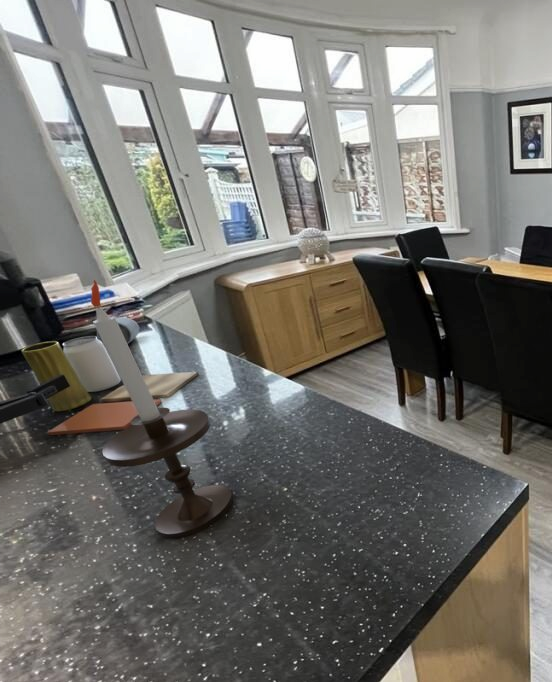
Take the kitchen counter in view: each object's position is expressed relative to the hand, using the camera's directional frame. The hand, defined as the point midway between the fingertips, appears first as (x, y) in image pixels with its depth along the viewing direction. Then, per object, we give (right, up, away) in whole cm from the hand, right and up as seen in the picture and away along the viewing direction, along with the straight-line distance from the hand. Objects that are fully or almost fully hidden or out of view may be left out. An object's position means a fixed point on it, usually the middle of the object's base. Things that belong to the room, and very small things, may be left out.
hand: (29, 382), depth 79 cm
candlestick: (+51, -17, -21) cm, 58 cm away
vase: (0, -6, +8) cm, 10 cm away
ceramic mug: (-22, +7, +40) cm, 46 cm away
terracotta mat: (+13, -8, +3) cm, 16 cm away
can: (-1, -3, +15) cm, 16 cm away
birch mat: (+12, -3, +14) cm, 19 cm away
